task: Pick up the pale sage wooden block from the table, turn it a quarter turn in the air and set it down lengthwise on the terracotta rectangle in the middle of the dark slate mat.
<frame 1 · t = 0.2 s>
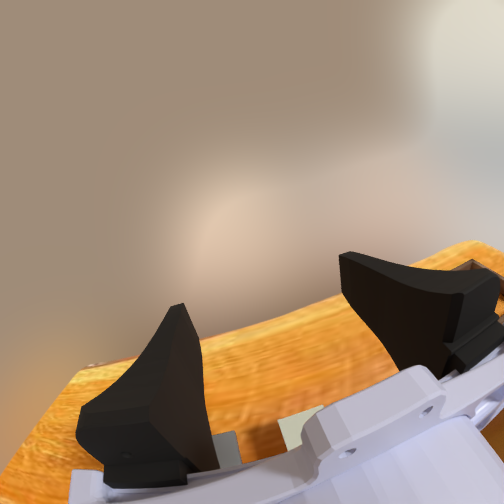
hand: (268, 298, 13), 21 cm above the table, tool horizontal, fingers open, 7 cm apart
fruit rim: (474, 305, 34), on the table
block: (320, 473, 21), on the table
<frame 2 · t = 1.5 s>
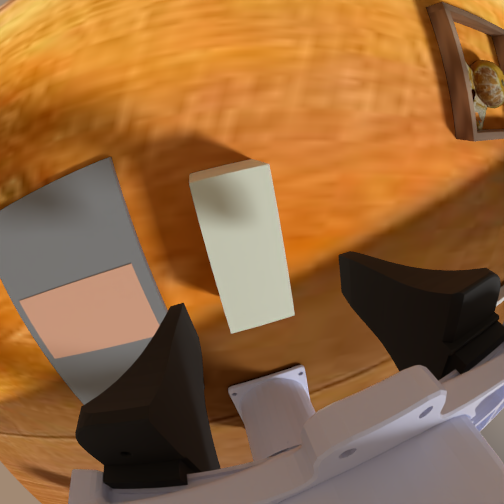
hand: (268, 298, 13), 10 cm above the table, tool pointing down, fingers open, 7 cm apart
fruit rim: (480, 76, 20), on the table
mat: (87, 314, 21), on the table
fruit: (471, 85, 21), on the table
block: (235, 231, 22), on the table
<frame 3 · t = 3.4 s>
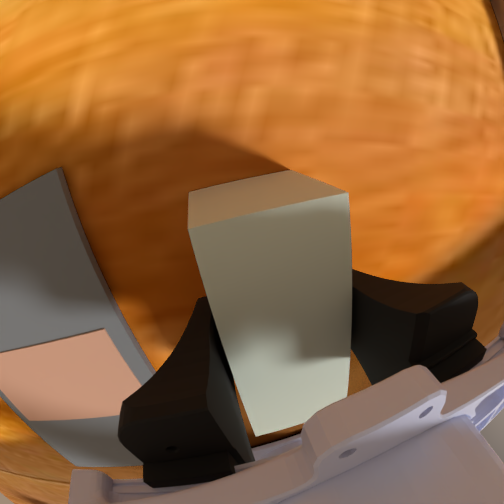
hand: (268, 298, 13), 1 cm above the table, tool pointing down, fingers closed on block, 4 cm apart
mat: (57, 380, 14), on the table
block: (260, 282, 14), on the table, touching gripper
when the fingers open (4 cm above the table, at t = 8.1 s): block stays where it is, resting on mat.
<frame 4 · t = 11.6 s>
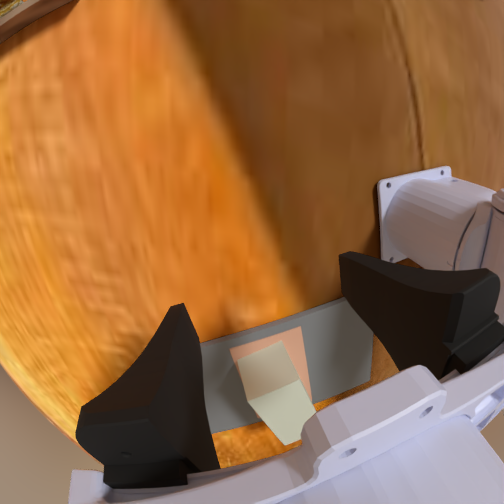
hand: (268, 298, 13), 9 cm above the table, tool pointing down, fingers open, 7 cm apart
mat: (275, 375, 28), on the table
block: (276, 380, 27), point 1 cm above the table, touching mat
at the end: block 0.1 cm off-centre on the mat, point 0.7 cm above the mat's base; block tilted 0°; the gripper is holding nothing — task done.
